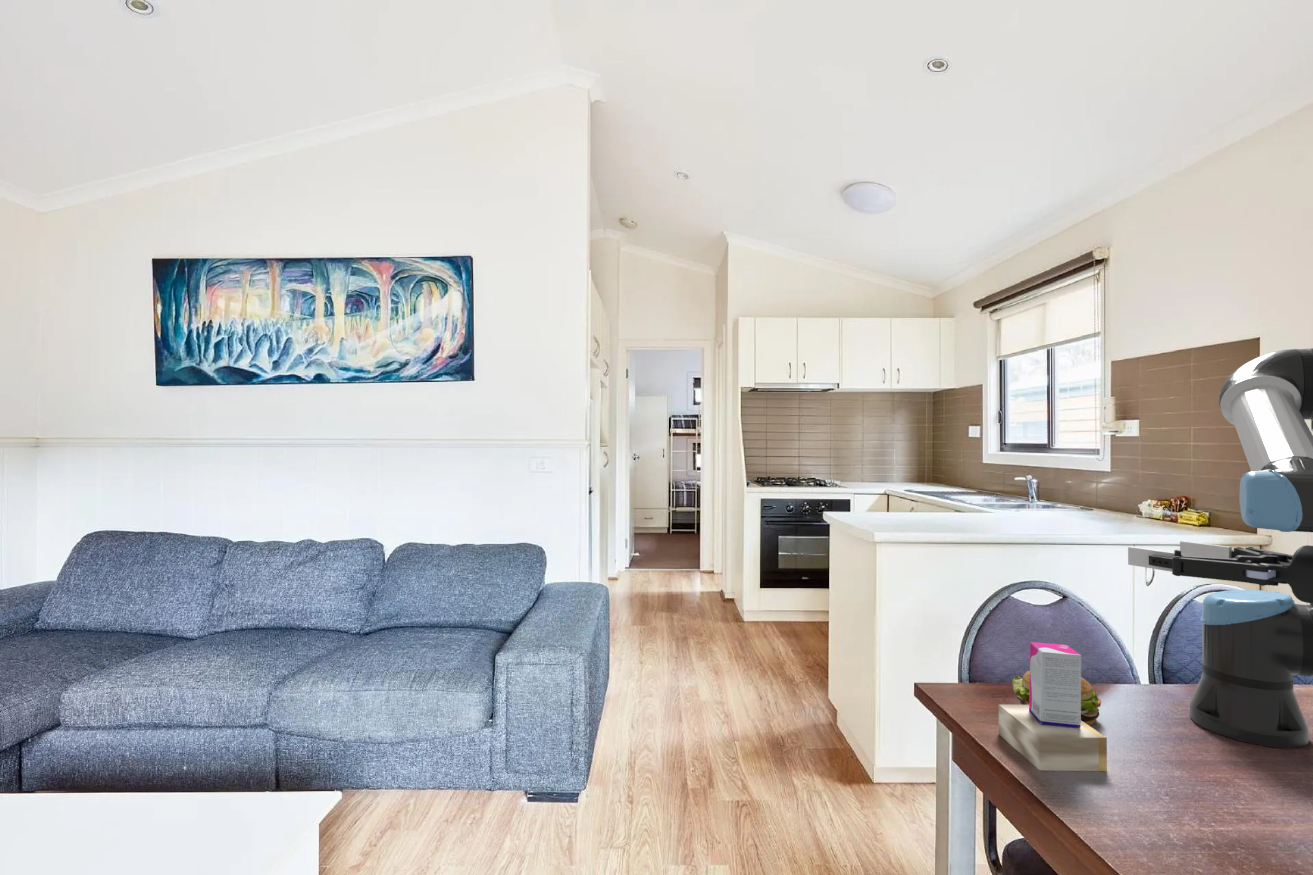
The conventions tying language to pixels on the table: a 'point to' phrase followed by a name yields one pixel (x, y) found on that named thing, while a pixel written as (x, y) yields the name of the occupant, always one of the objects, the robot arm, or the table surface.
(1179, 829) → the table surface
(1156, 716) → the table surface
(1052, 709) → the supplement box
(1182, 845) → the table surface
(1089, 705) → the food
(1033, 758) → the block
